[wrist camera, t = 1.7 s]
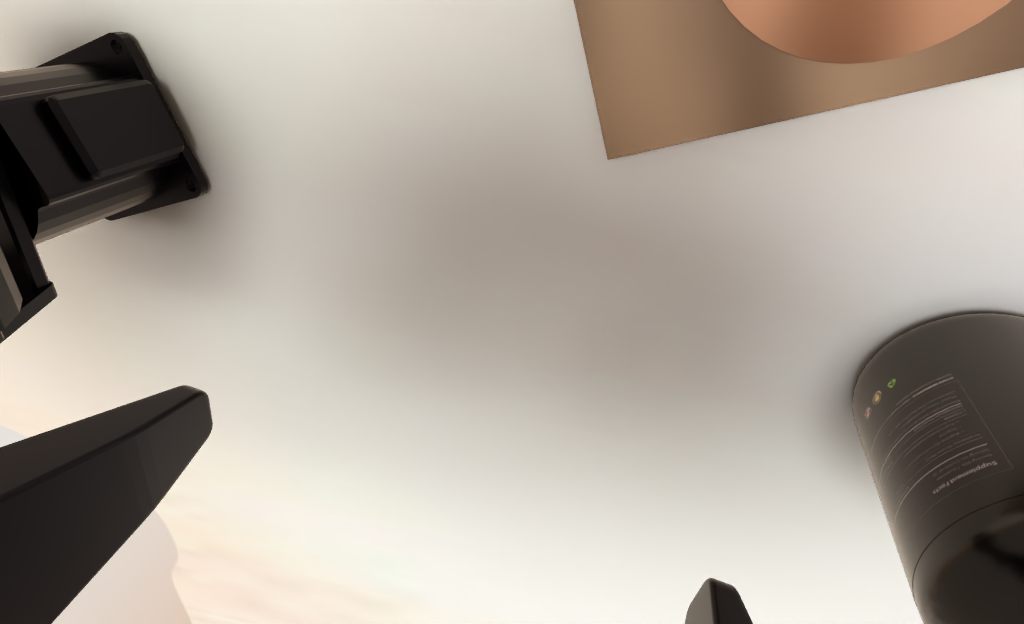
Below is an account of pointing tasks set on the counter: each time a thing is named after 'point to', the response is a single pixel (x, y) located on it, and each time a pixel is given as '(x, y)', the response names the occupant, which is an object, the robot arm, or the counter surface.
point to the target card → (777, 59)
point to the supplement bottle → (952, 462)
